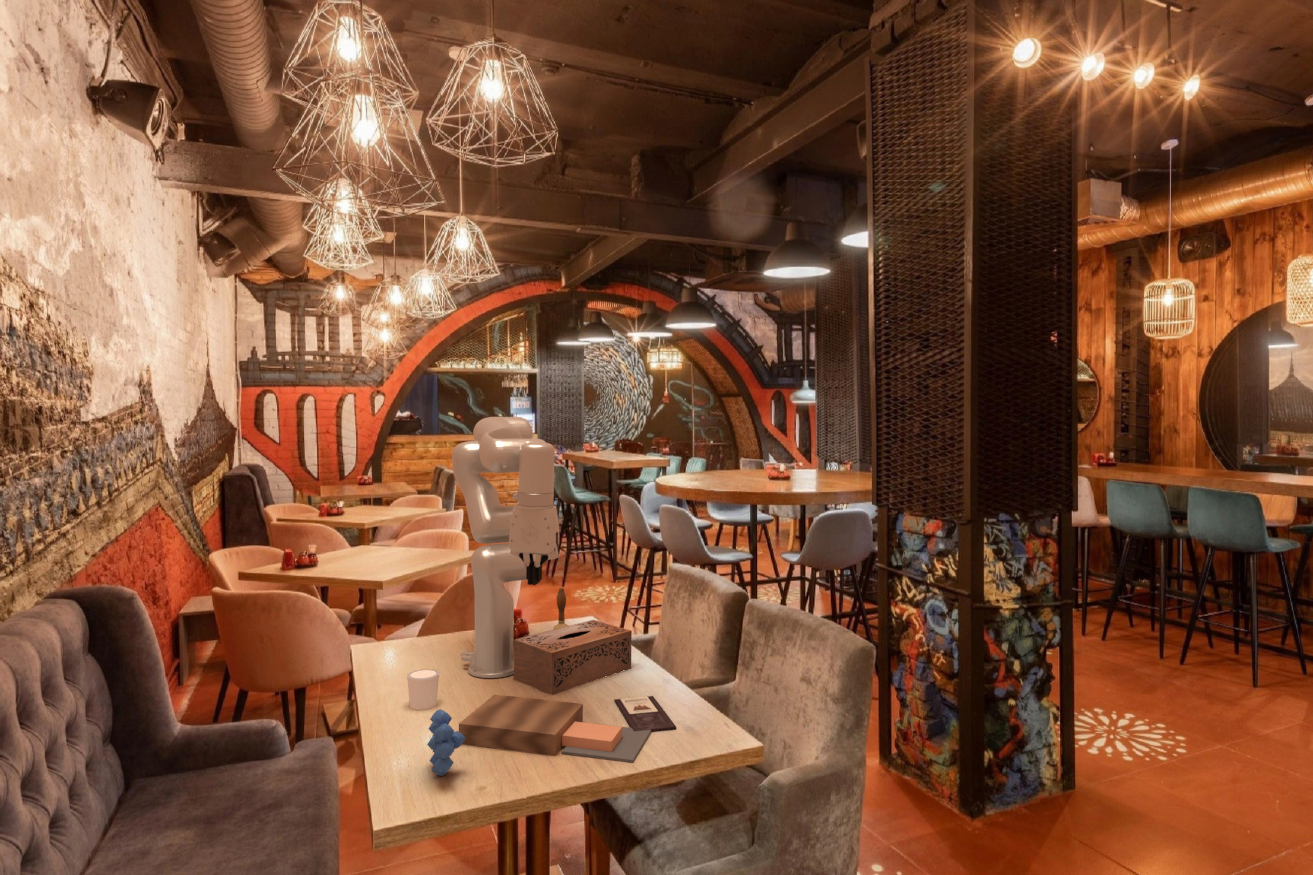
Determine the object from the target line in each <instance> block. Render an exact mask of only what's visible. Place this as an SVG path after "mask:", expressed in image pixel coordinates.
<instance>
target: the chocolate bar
mask: <svg viewBox="0 0 1313 875" xmlns="http://www.w3.org/2000/svg"><path fill="white" fill-rule="evenodd" d="M613 700H614V701H613V703H614V704H615V706H616V707H617V709H618V708H619V709H618V710H619V712H620V713H621V715H622V717H623V719H624V720H625V722H626V723H627V725H628V727H629V728H632V729H633V731H643V730H651V733H655V732H656V733H658V732H665V731H666V732H668V731H676V730H677V726H676V725H675V723H674V721H672V719H671V718H670V716H669V715H668V714H667V713H666V711H665V710H664V708H663V707H662V705H661V704H660V703H659V701H657V699H656V698H655V697H654V695H649V696H648V695H646V696H636V697H625V698H615V699H613Z"/></svg>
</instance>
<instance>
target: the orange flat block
mask: <svg viewBox="0 0 1313 875" xmlns="http://www.w3.org/2000/svg"><path fill="white" fill-rule="evenodd" d="M618 726H619V725H611V726H609V724H602V725H601V724H600V723H593V724H592V722H574V723H573V724H572V725H571V726H570V727H569V728H568V729H567V730H566V732H565V733H564V734H563V735H562V746H563V747H566V746H569V747H577V748H585V749H593V750H600V751H608V752H612V750H613V749H614V747H615V746H616V745H617V743H618V742H619V740H620V739H621V738H622V727H623V726H620V727H618Z"/></svg>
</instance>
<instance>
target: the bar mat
mask: <svg viewBox="0 0 1313 875" xmlns="http://www.w3.org/2000/svg"><path fill="white" fill-rule="evenodd" d="M591 723H592V722H591ZM592 724H594V723H592ZM601 725H603V724H601ZM608 725H609V724H608ZM609 726H612V725H611V724H610V725H609ZM617 726H618V727H622V738H621V739H620V740H619V742H618V743H617V745H616V746H615V747H614V749H613V750H612V752H608V751H600V750H593V749H585V748H577V747H569V746H564V748H563V749H562V750H561V754H562V755H569V756H577V757H583V758H593V759H600V760H610V761H616V762H625V763H632V764H633V763H634V762H635V760H636V759H637V756H638V755H639V753H640V752H641V750H642V748H643V746H644V745H645V744H646V742H647V740H648V738H649V737H650V735H651V733H652V732H651V730H643V731H633V729H632V728H630V727H629V726H628V727H627V726H619V725H617Z"/></svg>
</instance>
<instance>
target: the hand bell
mask: <svg viewBox="0 0 1313 875" xmlns="http://www.w3.org/2000/svg"><path fill="white" fill-rule="evenodd" d="M556 605H557V608H558V610H557V611H558V618H557V619H558V622H557V624H556V625H554V627H553V629H552V630H554V629H558V628H562V627H566V626H570V625H569V624H568V623H567V624H566V622H565V621H566V620H565V618H566V617H565V609H566V605H567V595H566V593H565V589H564V588H563V587H559V588H558V591H557V595H556Z"/></svg>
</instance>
